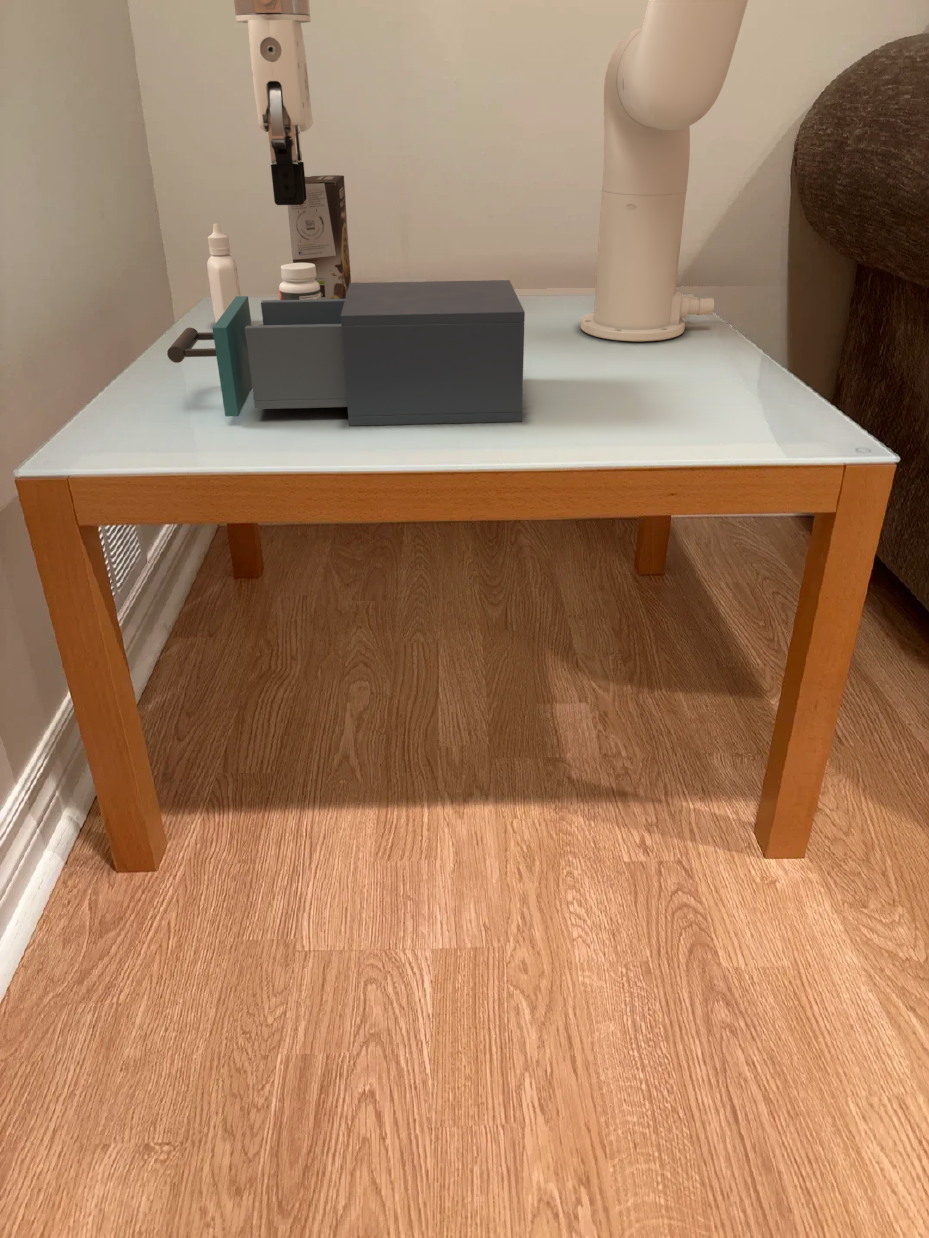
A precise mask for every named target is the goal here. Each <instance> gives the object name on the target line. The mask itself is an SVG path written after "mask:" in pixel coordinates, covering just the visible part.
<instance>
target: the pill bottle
mask: <svg viewBox="0 0 929 1238" xmlns="http://www.w3.org/2000/svg"><path fill="white" fill-rule="evenodd" d="M280 278H281V280H283V281H282V282H280V283H279V286H278V290H279V300H312V299H321V295H320V285H319V283H318V282H317V281H315V280H314V279H315V278H316V267H315V264H312V263H293V262H289V263H284V264H282V265H280Z"/></svg>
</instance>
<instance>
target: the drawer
mask: <svg viewBox="0 0 929 1238" xmlns="http://www.w3.org/2000/svg"><path fill="white" fill-rule="evenodd" d="M344 302H345V299H312V300H280V299H271V300H270V299H268V300H267V299H266V300H261V301H260V308H261V316H262V325H252V318H251V317H252V316H251V310H250V309H251V308H250V302H249V296H247V295H241V296H236V297H235V298H234V300H233V301H232V302H231V304H230V305H229V306H228V308H227V309H226V310H225V312H224V313H223V314H222V316H221V317H220V318H219V320H218V321H217V322H216V324H215V323H214V325H213V326H212V328H211V329H212V331H211V332H209V331H207V332H206V331H205V332H198V330H197V329H196V328H194V327H187V328H185V329H184V330H183V331H182V332H181V334H179V336H178V337H177V338H176V339H175V341H174V342H173V343H172V344H171V346H170V347H169V348H168V349H167V354H166V355H167V358H168V359H169V360H170V361H171V362H172V363H174V364H175V363H176V364H178V363H181V362H183V361H184V360H185V358H200V357H201V358H205V357H206V358H207V357H210V358H211V357H216V362H217V368H218V375H219V383H220V389H221V395H222V396H221V398H222V404H223V409H224V410H223V411H224V416H225V417H239V416H240V415H241V412H242V410H243V408H244V406H245V403H246V401H247V400H248V397H249V395H250V393H251V391H252V395H253V396H252V397H253V403H254V409H255V410H274V409H275V410H276V409H277V410H279V409H317V408H318V409H319V408H321V409H322V408H348V407H347V394H346V381H345V367H344V354H343V340H342V325H341V313H342V309H343V305H344ZM199 341H213V342H214V347H213V348H212V347H211V348H194V346H196V344H197V342H199Z"/></svg>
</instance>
